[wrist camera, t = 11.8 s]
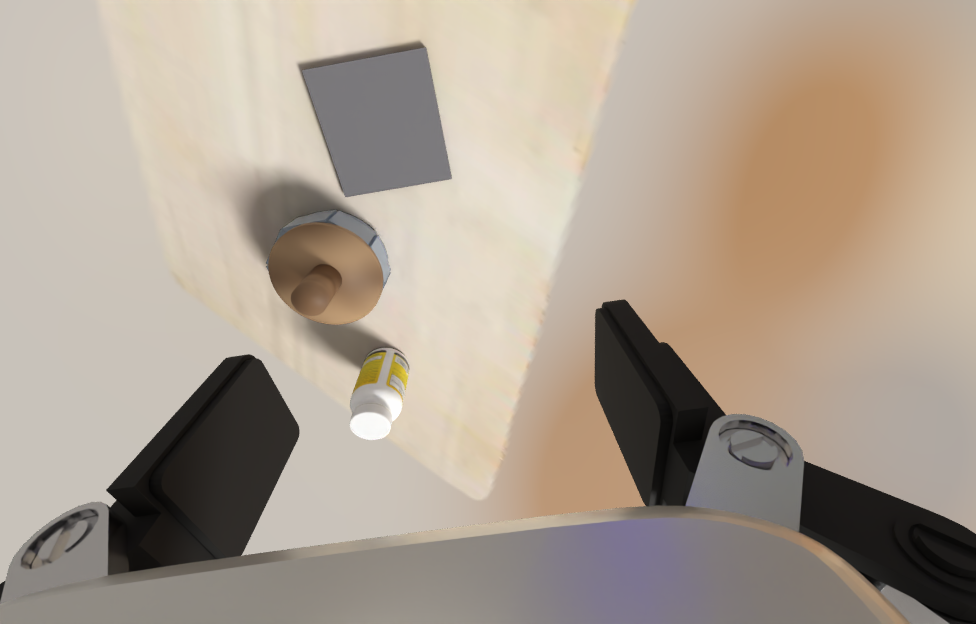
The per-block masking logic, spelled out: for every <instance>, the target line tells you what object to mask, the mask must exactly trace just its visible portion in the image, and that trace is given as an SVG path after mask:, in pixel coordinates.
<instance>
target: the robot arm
mask: <svg viewBox="0 0 976 624" xmlns="http://www.w3.org/2000/svg"><path fill="white" fill-rule="evenodd" d="M595 389H596V394H597V396H598V399H599V401H600V404H601V406H602V408H603V410H604V413H605V415H606V417H607V420H608V422H609V424H610V427H611V429H612V431H613V433H614V436H615V438H616V440H617V443H618V445H619V447H620V450H621V452H622V454H623V456H624V459H625V461H626V463H627V466H628V468H629V470H630V473H631V475H632V477H633V479H634V482H635V484H636V486H637V489H638V491H639V493H640V496H641V498H642V500H643V502H644V504H645V505H646V506H644V507H627V508H615V509H605V510H596V511H587V512H578V513H569V514H560V515H551V516H541V517H534V518H526V519H518V520H510V521H502V522H494V523H486V524H479V525H470V526H462V527H455V528H447V529H439V530H431V531H424V532H416V533H408V534H401V535H393V536H386V537H377V538H370V539H362V540H355V541H347V542H340V543H333V544H325V545H318V546H310V547H302V548H295V549H287V550H281V551H273V552H266V553H258V554H251V555H244V556H241V555H242V553H243V551H244V549H245V547H246V545H247V543H248V541H249V539H250V537H251V535H252V533H253V531H254V529H255V527H256V525H257V523H258V520H259V518H260V516H261V514H262V512H263V510H264V508H265V506H266V504H267V502H268V500H269V498H270V496H271V494H272V491H273V490H274V488H275V485H276V483H277V481H278V479H279V477H280V475H281V473H282V471H283V469H284V467H285V465H286V463H287V461H288V459H289V457H290V454H291V452H292V450H293V448H294V446H295V444H296V442H297V440H298V437H299V426H298V424H297V422H296V420H295V419H294V417H293V415H292V414H291V412H290V410H289V408H288V406H287V405H286V403H285V401H284V399H283V398H282V396H281V394H280V392H279V391H278V389H277V387H276V385H275V384H274V382H273V380H272V378H271V377H270V375H269V373H268V371H267V370H266V368H265V366H264V364H263V363H262V361H261V360H259V359H256V358H255V357H254V356H252V355H242V356H235V357H229V358H226V359H225V360H223V362H222V363H221V364H220V365H219V366H218V367H217V368H216V369H215V370H214V372H213V373H212V374H211V375H210V376H209V377H208V378H207V379H206V380H205V382H204V383H203V384H202V385H201V386H200V387H199V388H198V389H197V390H196V391H195V392H194V394H193V395H192V396H191V397H190V398H189V399H188V400H187V401H186V402H185V404H184V405H183V406H182V407H181V408H180V409H179V410H178V411H177V412H176V413H175V415H174V416H173V417H172V418H171V419H170V420H169V421H168V422H167V423H166V425H165V426H164V427H163V428H162V429H161V430H160V431H159V432H158V433H157V434H156V436H155V437H154V438H153V439H152V440H151V441H150V442H149V443H148V444H147V446H146V447H145V448H144V449H143V450H142V451H141V452H140V453H139V454H138V455H137V457H136V458H135V459H134V460H133V461H132V462H131V463H130V464H129V465H128V467H127V468H126V469H125V470H124V471H123V472H122V473H121V474H120V476H118V478H117V479H116V480H115V481H114V482H113V483H112V484H111V485H110V486H109V488H108V489H107V492H108V493H110V494H111V495H112V496H113V497H114V498H115V499H116V502H115V503H114V504H113V505H112V506H111V507H109V506H108V505H106V504H104V503H102V502H91V503H88V504H84V505H81V506H78V507H76V508H74V509H72V510H70V511H67V512H65V513H63V514H62V515H60V516H59V517H57V518H55V519H54V520H52V521H51V522H49V523H48V524H46V525H45V526H44V527H43V528H41V529H40V530H39V531H37V532H36V533H35V534H34V535H33V536H32V537H31V538H30V539H29V540H28V541H27V542H26V543H24V544H23V546H22V547H21V548H20V549H19V551H18V552H17V553H16V555H15V556H14V557H13V559H12V562H11V564H10V566H9V569H8V573H7V577H6V581H4V582H3V583H1V584H0V624H976V534H975V533H973V532H972V531H970V530H969V529H967V528H965V527H964V526H962V525H960V524H958V523H956V522H954V521H952V520H949V519H948V518H945V517H943V516H941V515H938V514H936V513H934V512H931V511H929V510H926V509H923V508H921V507H919V506H916V505H914V504H911V503H908V502H906V501H903V500H901V499H899V498H896V497H893V496H891V495H888V494H886V493H883V492H881V491H878V490H876V489H873V488H871V487H868V486H866V485H863V484H861V483H858V482H856V481H853V480H851V479H848V478H846V477H843V476H841V475H838V474H836V473H833V472H831V471H828V470H826V469H823V468H821V467H818V466H816V465H813V464H811V463H808V462H806V461H804V457H803V452H802V449H801V448H800V446H799V445H798V443H797V441H796V440H795V439H794V438H793V437H792V436H791V435H790V434H788V433H787V432H786V431H785V430H783V429H782V428H780V427H778V426H777V425H775V424H774V423H772V422H769V421H767V420H764V419H762V418H759V417H755V416H750V415H746V414H731V415H725V413H724V412H723V411H722V410H721V408H720V407H719V406H718V405H717V403H716V402H715V401H714V400H713V399H712V397H711V396H710V395H709V393H708V392H707V391H706V390H705V389H704V387H703V386H702V385H701V384H700V382H699V381H698V380H697V379H696V377H695V376H694V375H693V374H692V373H691V371H690V370H689V369H688V368H687V367H686V365H685V364H684V363H683V361H682V360H681V359H680V358H679V356H678V355H677V354H676V353H675V352H674V350H673V349H672V348H671V347H670V346H669V345H668V344H667V343H664V342H662V343H659V342H658V341H657V339H656V338H655V337H654V336H653V334H652V333H651V332H650V330H649V329H648V328H647V327H646V325H645V324H644V323H643V321H642V320H641V319H640V318H639V317H638V315H637V314H636V312H635V311H634V310H633V308H632V307H631V306H630V305H629V303H628V302H627V301H626V300H617V301H610V302H604V303H603V304H602V308H600V309H596V314H595Z"/></svg>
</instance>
